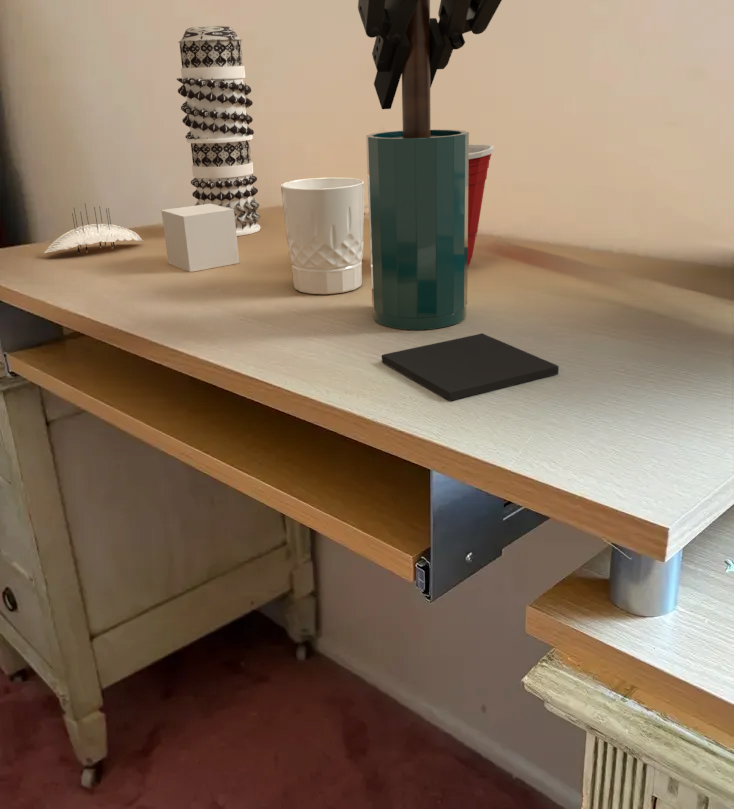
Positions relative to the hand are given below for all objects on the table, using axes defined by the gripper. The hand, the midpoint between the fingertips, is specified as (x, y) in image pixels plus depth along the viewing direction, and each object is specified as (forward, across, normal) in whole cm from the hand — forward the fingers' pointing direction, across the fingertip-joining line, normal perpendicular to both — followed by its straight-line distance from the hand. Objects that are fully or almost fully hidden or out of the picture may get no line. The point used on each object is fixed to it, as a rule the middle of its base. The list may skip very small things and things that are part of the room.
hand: (398, 95), depth 68 cm
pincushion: (+41, -26, +15) cm, 50 cm away
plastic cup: (+22, +9, -4) cm, 24 cm away
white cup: (+19, -4, -6) cm, 21 cm away
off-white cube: (+31, -14, +6) cm, 35 cm away
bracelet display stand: (+44, -8, +19) cm, 49 cm away
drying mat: (0, -2, -25) cm, 25 cm away
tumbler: (+10, 0, -15) cm, 18 cm away
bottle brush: (+4, 0, -9) cm, 10 cm away
